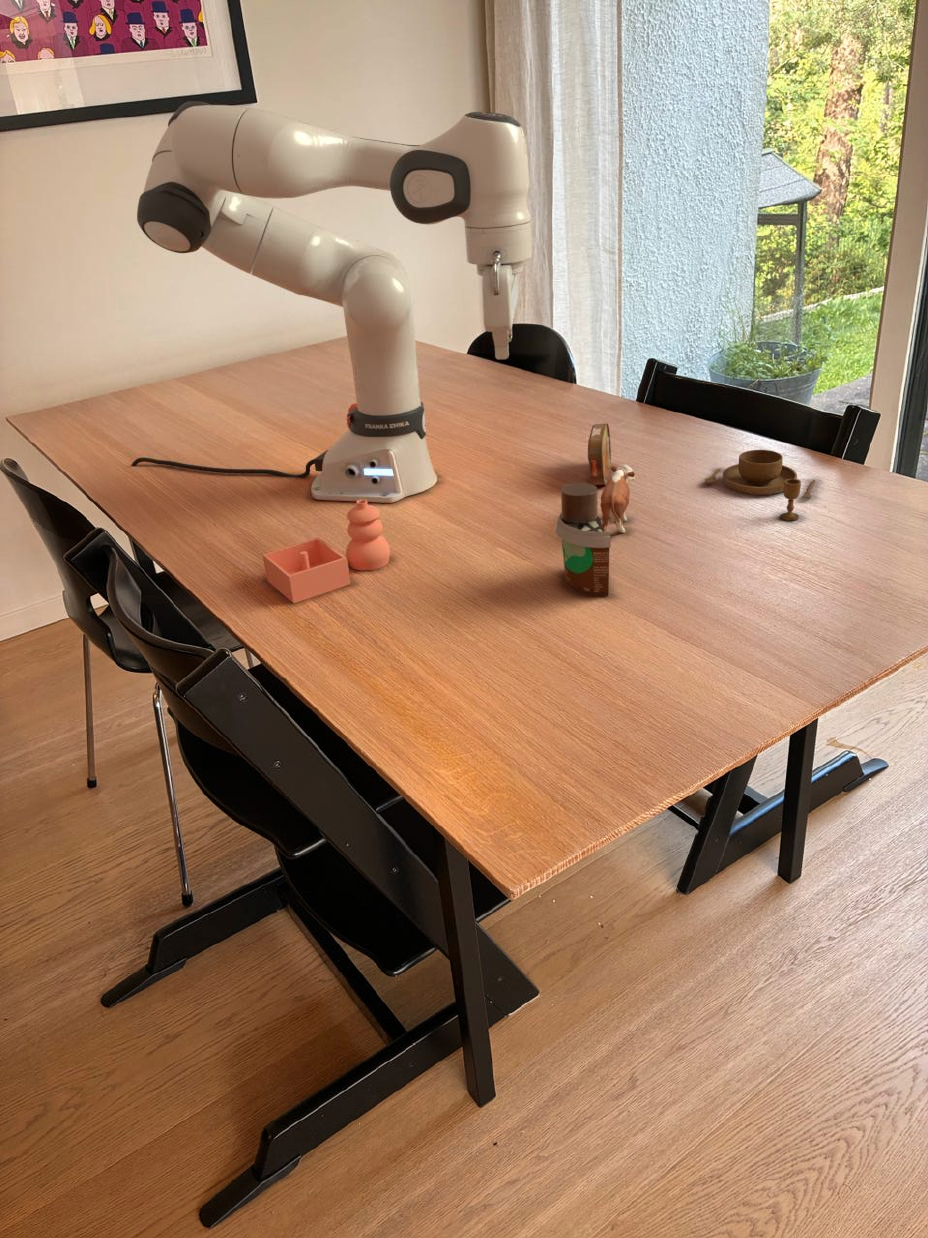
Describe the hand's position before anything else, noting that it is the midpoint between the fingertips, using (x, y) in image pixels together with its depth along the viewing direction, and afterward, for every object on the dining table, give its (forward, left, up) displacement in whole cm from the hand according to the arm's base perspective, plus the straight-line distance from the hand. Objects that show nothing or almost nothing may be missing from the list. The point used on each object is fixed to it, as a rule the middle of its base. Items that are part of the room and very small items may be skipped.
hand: (504, 349), depth 141 cm
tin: (+14, +25, -29) cm, 41 cm away
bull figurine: (+16, +4, -29) cm, 34 cm away
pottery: (-26, -11, -29) cm, 41 cm away
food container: (+10, -16, -29) cm, 35 cm away
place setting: (+39, +15, -29) cm, 51 cm away
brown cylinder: (+10, -16, -19) cm, 27 cm away
